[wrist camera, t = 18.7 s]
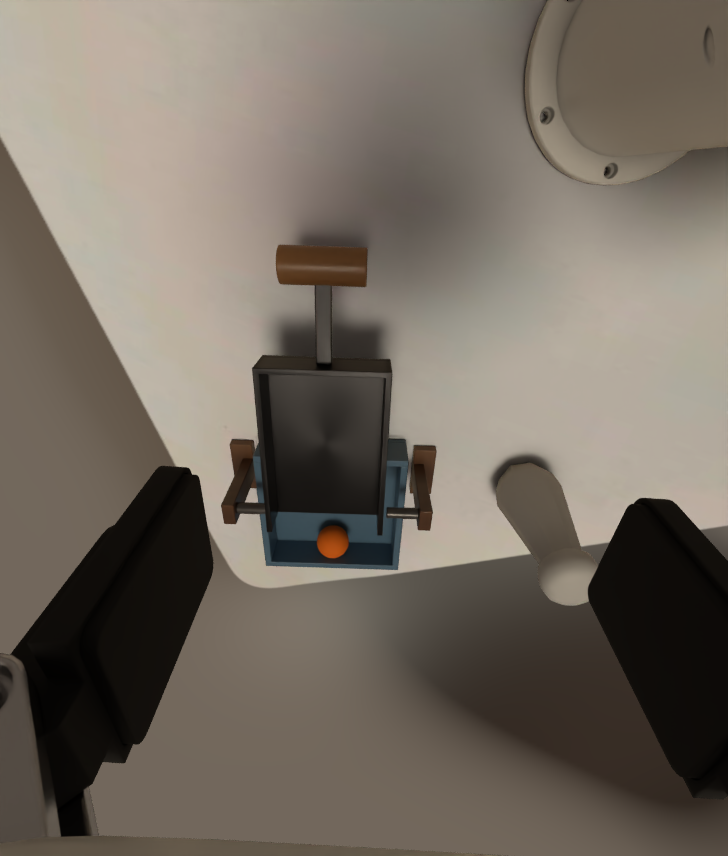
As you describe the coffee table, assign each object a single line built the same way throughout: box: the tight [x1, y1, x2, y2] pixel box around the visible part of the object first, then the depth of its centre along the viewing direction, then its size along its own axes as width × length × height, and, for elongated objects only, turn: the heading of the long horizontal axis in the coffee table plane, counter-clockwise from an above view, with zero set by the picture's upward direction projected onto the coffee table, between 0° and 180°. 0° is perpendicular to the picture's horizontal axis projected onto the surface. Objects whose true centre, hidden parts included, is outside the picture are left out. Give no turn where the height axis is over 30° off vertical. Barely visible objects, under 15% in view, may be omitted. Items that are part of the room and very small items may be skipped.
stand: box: [221, 440, 436, 530], centre depth 38 cm, size 5×19×7 cm, turn 88°
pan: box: [252, 245, 392, 536], centre depth 29 cm, size 20×9×3 cm, turn 179°
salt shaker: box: [496, 463, 598, 606], centre depth 36 cm, size 6×6×13 cm
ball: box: [317, 525, 349, 558], centre depth 43 cm, size 3×3×3 cm
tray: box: [253, 439, 408, 570], centre depth 41 cm, size 13×13×4 cm
